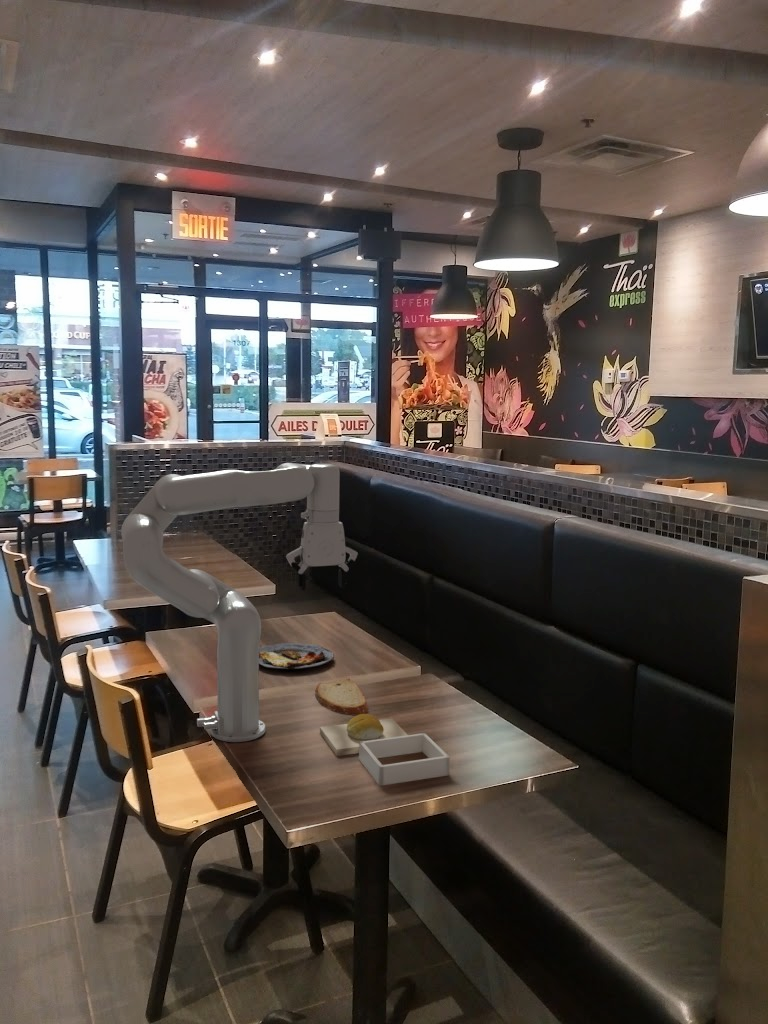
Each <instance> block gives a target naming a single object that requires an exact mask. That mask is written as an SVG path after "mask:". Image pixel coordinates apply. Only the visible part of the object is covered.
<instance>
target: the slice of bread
mask: <svg viewBox="0 0 768 1024" xmlns="http://www.w3.org/2000/svg"><path fill="white" fill-rule="evenodd" d="M314 692H315V694H314V696H315V699H316V700H317V702H318V703H319V704H321V705H323V706H324V707H325V708H327V709H329V710H331V711H333V712H335V713H339V714H344V715H355V716H357V715H360V714H368V713H369V708H368V703H367V700H366V697H365V695H364V693H363V692H362V690H361V688H359V686H358V685H357V684H356V683H355V682H354V681H353V680H351V679H350V678H349V677H348V678H346V677H345V678H341V679H339V680H335V681H333V682H329V683H326V682H325V683H324V682H319V683H318V684H317V686H316V687H315V690H314Z"/></svg>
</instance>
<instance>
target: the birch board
mask: <svg viewBox="0 0 768 1024" xmlns="http://www.w3.org/2000/svg"><path fill="white" fill-rule="evenodd" d="M378 720H379V721H380V723H381V725H382V726H383V729H384V731H383V733H382V735H381V736H380V737H378V738H377V739H384V738H391V737H399V736H406V735H408V733H407V732H406V731H405V730H404V729H403V728H402V727H400V725H399V724H398V723H397V722H396V721H395V720H394V719H393V718H381V719H378ZM347 724H348V723H344V724H342V723H340V724H334V725H328V726H327V725H326V726H320V727H319V735H320V736H321V737H322V738H323V740H324V741H325V742H326V743H327V745H328V747H330V749H331V750H332V751H333V753H334V755H335V756H336V757H340V756H347V755H354V754H359V742H361V741H369V740H360V739H355V738H353V737H352V736H350V735H349V733H348V732H347ZM373 740H376V739H373Z"/></svg>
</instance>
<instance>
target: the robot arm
mask: <svg viewBox="0 0 768 1024" xmlns="http://www.w3.org/2000/svg"><path fill="white" fill-rule="evenodd" d="M340 476H341V475H340V468H339V466H338V465H336V464H331V463H312V464H303V463H295V462H284V463H281V464H279V465H278V466H277V467H276V468H275V469H273V470H272V469H271V470H265V471H264V470H262V471H245V470H238V469H224V470H217V471H212V472H204V473H195V474H189V475H180V474H176V473H170V474H167V475H164V476H162V477H161V478H159V479H158V481H156V482H155V484H154V485H153V486H152V487H151V488H150V489H149V491H148V493H146V495H144V497H143V498H142V499H141V501H139V503H138V504H136V506H135V507H134V508H133V509H132V511H131V512H130V513H129V514H128V515H127V516H126V517H125V520H124V521H123V523H122V525H121V529H120V534H121V539H122V545H123V546H122V556H123V563H124V566H125V569H126V572H127V573H128V574H129V577H130V578H131V579H132V580H133V581H134V582H136V583H137V584H138V585H139V586H140V587H142V588H144V589H145V590H147V591H148V592H150V593H152V594H154V595H155V596H157V597H158V598H160V599H162V600H163V601H165V602H166V603H168V604H169V605H171V606H173V607H175V608H177V609H179V610H180V611H181V612H183V614H186V615H187V616H189V617H192V618H197V619H199V618H200V619H201V618H203V619H205V620H207V621H209V622H211V623H212V624H214V625H215V626H216V628H217V633H218V634H217V635H218V636H217V649H216V651H217V652H216V654H217V655H216V666H217V667H216V669H217V672H216V673H217V675H216V677H217V678H216V679H217V681H216V682H217V684H216V685H217V689H216V690H217V710H215V711H214V715H210V717H199V718H196V726H197V727H199V728H200V727H203V729H204V730H210V735H211V736H212V737H214V739H217V740H219V741H223V742H227V743H242V742H243V743H245V742H248V741H254V740H256V739H258V738H260V737H262V736H263V735H264V734H265V733H266V724H265V722H264V721H262V720H260V664H259V648H260V642H261V641H260V640H261V635H262V634H261V633H262V632H261V631H262V621H261V617H260V614H259V612H258V610H257V608H256V607H255V605H254V604H253V603H252V601H250V600H249V599H248V598H247V597H246V596H245V595H244V594H242V593H241V592H239V591H238V590H236V589H234V588H233V587H231V586H229V585H227V584H226V583H224V582H223V581H221V580H220V579H218V578H216V577H214V576H213V575H211V574H210V573H207V572H206V571H204V570H201V569H196V568H191V569H188V568H186V567H185V566H183V565H182V564H180V563H179V562H178V561H176V560H174V559H172V558H170V557H168V556H167V555H166V553H165V552H164V550H163V544H164V532H165V530H166V529H167V528H168V527H169V525H171V523H172V522H173V521H174V520H175V518H176V517H177V516H184V515H185V516H186V515H190V514H192V515H193V514H199V513H205V512H213V511H216V510H217V511H218V510H225V509H231V508H233V509H234V508H246V507H253V506H265V505H274V504H275V505H276V504H283V503H289V502H295V501H300V500H303V499H305V498H306V509H305V511H304V512H301V513H300V518H301V519H305V520H306V521H305V522H304V523H303V527H302V532H301V539H300V540H301V541H300V546H299V547H298V548H296V549H294V550H292V551H291V552H289V553H287V554H286V555H285V558H286V559H287V561H288V563H289V565H290V567H292V568H293V570H295V571H296V572H297V573H296V574H297V575H296V576H297V579H296V583H297V584H296V585H297V587H299V590H301V591H302V592H303V591H306V590H307V589H306V586H307V584H306V577H307V576H306V575H307V574H306V573H305V571H306V570H307V569H308V568H309V567H328V566H338V567H339V569H338V572H337V573H338V574H337V585H338V587H340V589H341V588H342V589H345V587H346V584H347V583H348V579H347V578H348V577H347V575H348V571H349V569H350V568H351V567H352V566H353V565H354V563H355V561H356V559H357V558H358V554H359V553H358V552H357V551H356V550H354V549H352V548H351V547H348V546H346V539H345V529H344V525H343V522H341V521H340ZM346 553H347V554H349V557H348V558H347V559H346V557H347V555H346ZM298 556H300V557H299V558H300V562H299V564H298V563H297V562H296V560H295V558H296V557H298Z"/></svg>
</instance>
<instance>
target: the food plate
mask: <svg viewBox="0 0 768 1024" xmlns="http://www.w3.org/2000/svg"><path fill="white" fill-rule="evenodd" d="M280 654H281V655H282V656H281V655H280ZM334 659H335V654H334V652H333V651H330V650H329V649H327V648H325V647H323V646H320V645H318V644H314V643H313V644H312V643H299V642H281V643H280V642H279V643H274V644H269V645H263V646H261V647H259V665H261V666H262V667H265V668H269V669H271V670H272V669H274V670H275V669H276V670H301V669H308V668H313V667H320V666H322V665H323V666H324V665H325V664H327V663H330V662H332V661H334Z"/></svg>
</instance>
